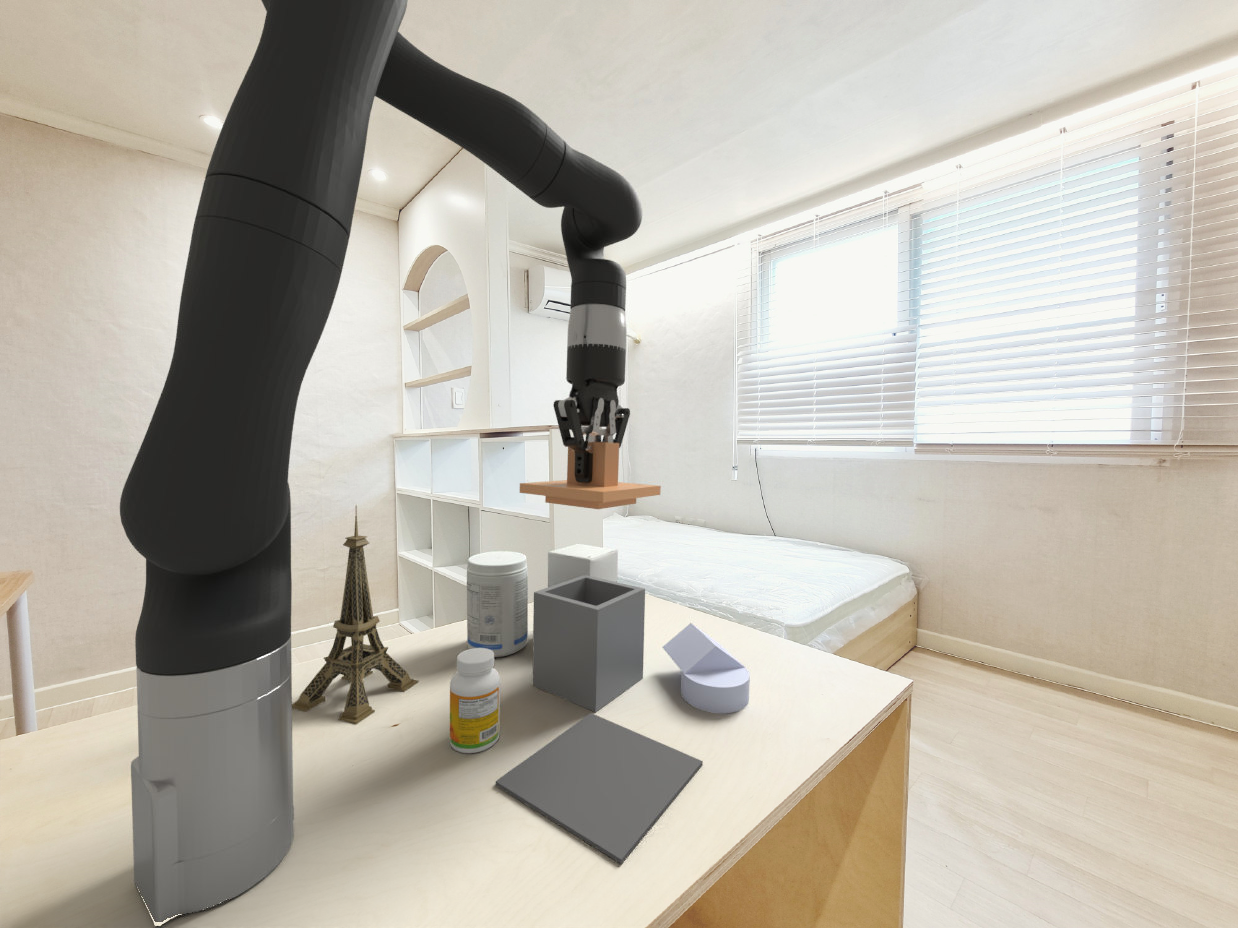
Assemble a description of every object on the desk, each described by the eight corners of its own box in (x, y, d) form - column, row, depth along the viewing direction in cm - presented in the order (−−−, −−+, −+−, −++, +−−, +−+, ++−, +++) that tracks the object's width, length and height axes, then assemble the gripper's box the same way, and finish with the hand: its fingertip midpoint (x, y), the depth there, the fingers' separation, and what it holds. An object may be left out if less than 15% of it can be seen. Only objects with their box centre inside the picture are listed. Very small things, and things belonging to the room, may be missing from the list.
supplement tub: (511, 630, 86) (512, 547, 85) (538, 648, 79) (539, 559, 78) (457, 644, 80) (457, 555, 79) (481, 665, 73) (482, 568, 72)
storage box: (595, 712, 61) (597, 609, 60) (532, 685, 67) (533, 592, 67) (642, 678, 70) (645, 588, 69) (583, 657, 76) (584, 574, 76)
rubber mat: (621, 864, 39) (621, 859, 39) (495, 784, 48) (495, 780, 48) (702, 764, 51) (702, 760, 51) (590, 715, 60) (590, 712, 60)
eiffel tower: (288, 708, 60) (286, 507, 59) (357, 670, 71) (356, 498, 69) (356, 724, 57) (355, 513, 56) (418, 682, 67) (418, 502, 66)
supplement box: (618, 633, 86) (620, 549, 85) (588, 651, 78) (590, 559, 78) (577, 621, 91) (578, 542, 90) (545, 637, 83) (546, 551, 82)
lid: (602, 513, 54) (604, 442, 54) (519, 502, 62) (520, 439, 61) (659, 503, 65) (662, 444, 65) (583, 495, 72) (584, 441, 72)
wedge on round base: (661, 669, 73) (696, 717, 60) (662, 624, 73) (698, 664, 60) (716, 663, 75) (761, 708, 63) (718, 620, 75) (763, 657, 62)
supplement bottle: (456, 725, 57) (457, 644, 57) (503, 724, 58) (504, 644, 57) (443, 755, 52) (443, 666, 52) (494, 754, 52) (495, 665, 52)
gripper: (586, 333, 55) (581, 487, 55) (649, 354, 66) (645, 481, 67) (536, 339, 59) (532, 482, 60) (604, 358, 70) (600, 477, 71)
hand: (592, 481), depth 63 cm, fingers closed on lid, 3 cm apart
